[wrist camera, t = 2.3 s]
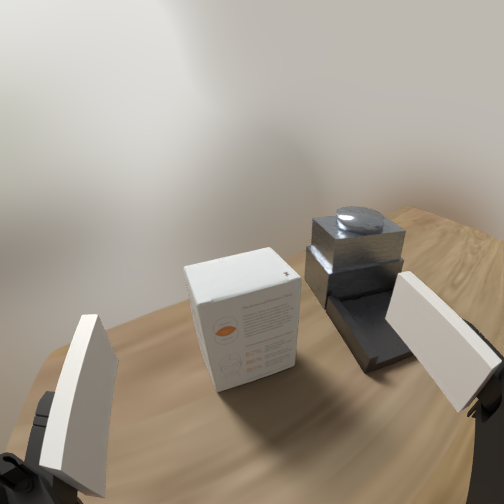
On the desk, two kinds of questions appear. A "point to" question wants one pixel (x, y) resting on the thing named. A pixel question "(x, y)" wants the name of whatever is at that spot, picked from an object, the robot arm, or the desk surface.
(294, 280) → the small box
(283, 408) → the desk surface
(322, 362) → the desk surface
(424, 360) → the robot arm
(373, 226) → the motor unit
